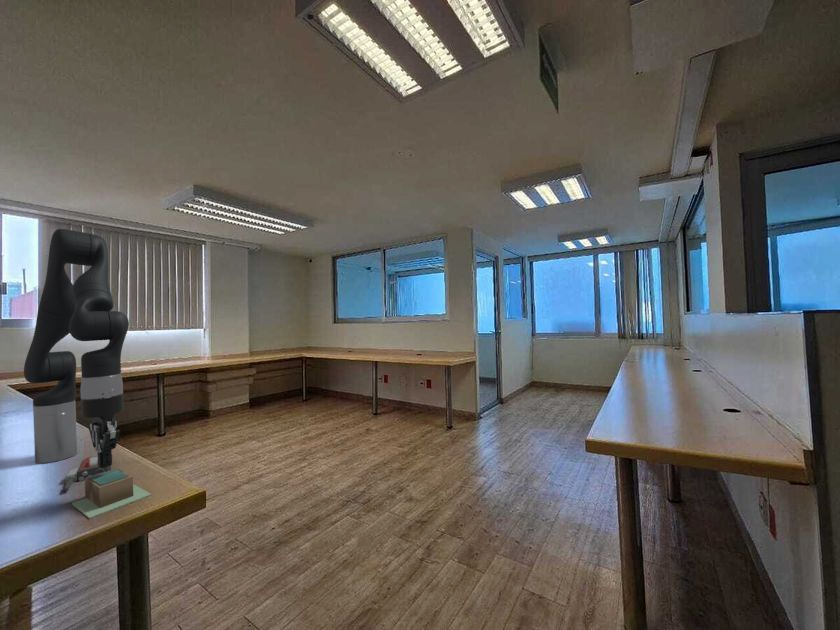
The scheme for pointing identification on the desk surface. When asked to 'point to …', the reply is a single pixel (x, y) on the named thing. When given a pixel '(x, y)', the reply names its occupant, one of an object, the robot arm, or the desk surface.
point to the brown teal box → (108, 487)
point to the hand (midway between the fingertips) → (105, 466)
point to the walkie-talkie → (84, 471)
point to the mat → (92, 510)
